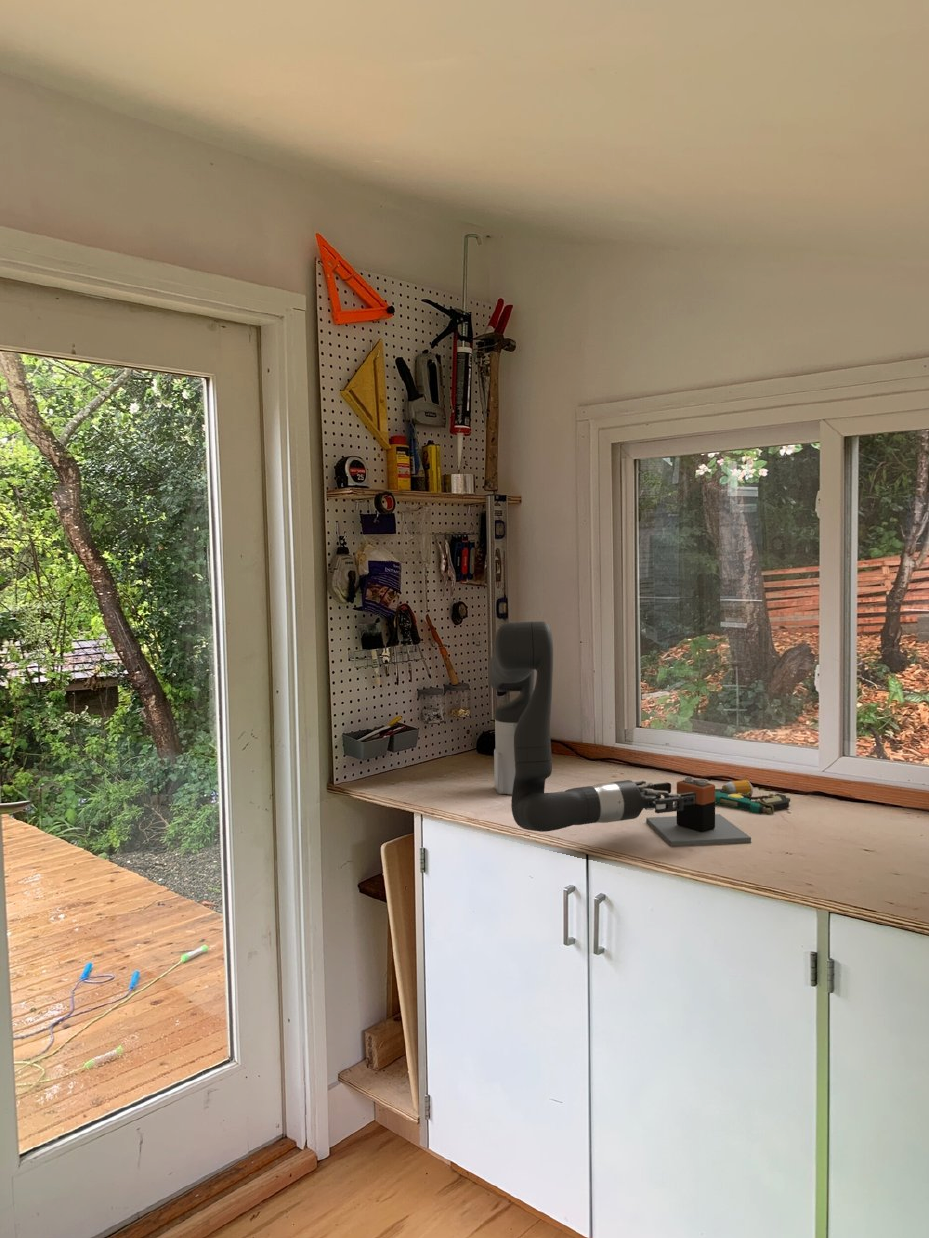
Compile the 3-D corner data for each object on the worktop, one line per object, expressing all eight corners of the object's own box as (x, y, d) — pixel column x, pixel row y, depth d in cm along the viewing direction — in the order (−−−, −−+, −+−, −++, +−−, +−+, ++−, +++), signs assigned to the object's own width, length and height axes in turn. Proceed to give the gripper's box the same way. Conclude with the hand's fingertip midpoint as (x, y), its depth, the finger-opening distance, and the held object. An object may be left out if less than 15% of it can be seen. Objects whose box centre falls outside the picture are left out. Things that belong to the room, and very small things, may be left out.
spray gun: (799, 811, 202) (753, 826, 195) (739, 791, 216) (694, 803, 208) (799, 793, 202) (754, 806, 194) (740, 773, 216) (695, 785, 208)
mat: (671, 846, 177) (671, 841, 177) (646, 822, 193) (646, 817, 193) (751, 842, 179) (751, 837, 179) (719, 818, 195) (719, 814, 195)
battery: (702, 833, 182) (702, 783, 181) (675, 825, 187) (675, 777, 186) (716, 828, 184) (716, 780, 184) (689, 821, 190) (689, 773, 189)
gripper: (631, 791, 171) (704, 782, 177) (593, 774, 184) (662, 766, 190) (631, 830, 172) (703, 820, 178) (593, 811, 185) (662, 802, 191)
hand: (682, 792), depth 184 cm, fingers open, 8 cm apart
